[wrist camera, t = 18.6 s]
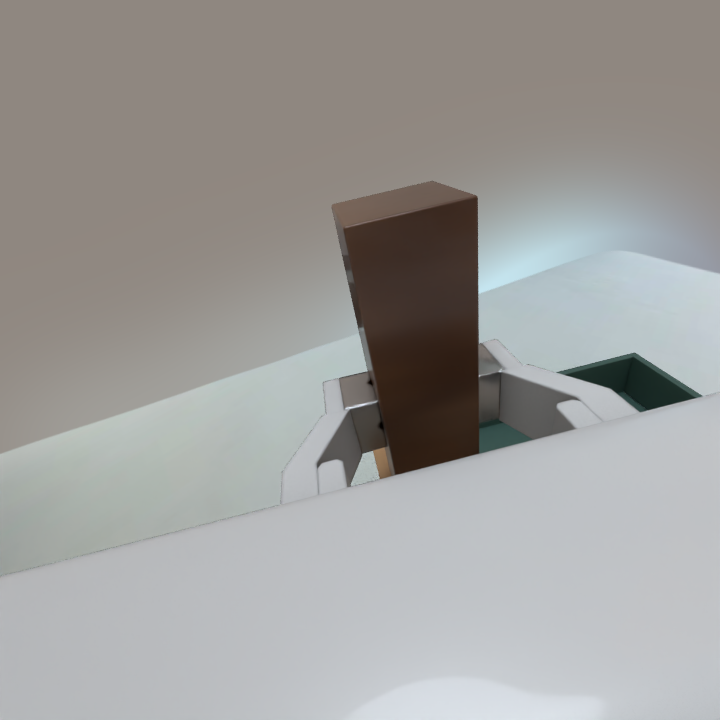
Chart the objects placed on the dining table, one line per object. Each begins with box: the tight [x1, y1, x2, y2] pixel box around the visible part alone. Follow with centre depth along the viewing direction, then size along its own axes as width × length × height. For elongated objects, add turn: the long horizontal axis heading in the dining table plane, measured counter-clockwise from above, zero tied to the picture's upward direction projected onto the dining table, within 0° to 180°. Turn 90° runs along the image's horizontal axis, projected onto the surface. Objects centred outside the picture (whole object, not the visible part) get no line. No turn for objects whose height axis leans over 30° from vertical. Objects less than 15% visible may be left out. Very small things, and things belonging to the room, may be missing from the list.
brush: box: [332, 181, 479, 479], centre depth 11 cm, size 4×10×13 cm, turn 9°
